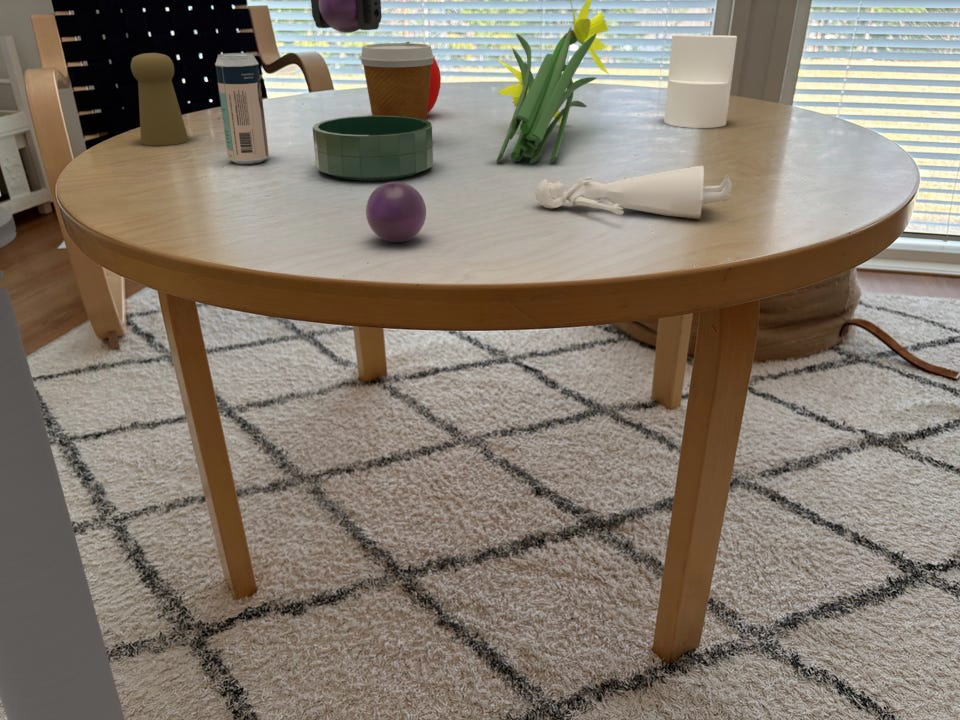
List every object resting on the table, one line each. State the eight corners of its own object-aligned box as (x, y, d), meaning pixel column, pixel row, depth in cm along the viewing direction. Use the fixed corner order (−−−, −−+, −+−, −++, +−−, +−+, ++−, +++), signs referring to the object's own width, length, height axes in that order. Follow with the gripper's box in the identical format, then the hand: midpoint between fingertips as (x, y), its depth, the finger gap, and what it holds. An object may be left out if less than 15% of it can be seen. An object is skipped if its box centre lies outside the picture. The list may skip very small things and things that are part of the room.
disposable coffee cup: (451, 144, 107) (449, 46, 101) (390, 153, 101) (385, 50, 96) (410, 133, 113) (406, 41, 108) (350, 142, 108) (344, 45, 103)
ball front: (376, 253, 66) (372, 192, 64) (361, 236, 70) (357, 178, 68) (434, 246, 68) (433, 186, 65) (417, 229, 72) (415, 173, 70)
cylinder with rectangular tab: (659, 125, 119) (667, 37, 113) (669, 116, 126) (677, 32, 121) (722, 129, 116) (734, 39, 110) (729, 119, 123) (739, 34, 118)
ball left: (326, 35, 75) (321, -25, 73) (317, 31, 79) (311, -25, 77) (379, 33, 77) (375, -26, 74) (367, 30, 81) (363, -26, 79)
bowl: (330, 187, 86) (326, 139, 83) (307, 162, 97) (303, 119, 94) (448, 177, 90) (447, 130, 88) (414, 154, 101) (412, 112, 99)
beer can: (277, 159, 98) (266, 53, 93) (248, 167, 94) (235, 57, 89) (249, 155, 100) (236, 51, 95) (219, 162, 97) (204, 55, 92)
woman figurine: (737, 180, 68) (525, 185, 72) (733, 232, 70) (527, 234, 74) (727, 152, 79) (542, 158, 82) (724, 198, 81) (543, 201, 84)
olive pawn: (197, 138, 111) (184, 51, 106) (170, 146, 105) (155, 56, 101) (159, 135, 112) (145, 50, 107) (131, 144, 107) (114, 55, 102)
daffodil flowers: (434, 166, 98) (497, 57, 124) (537, 229, 101) (578, 109, 126) (501, 49, 87) (556, -45, 112) (615, 123, 89) (643, 15, 115)
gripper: (241, -181, 71) (265, 28, 79) (365, -199, 64) (379, 34, 71) (303, -171, 77) (320, 24, 84) (423, -186, 70) (430, 28, 77)
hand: (347, 27), depth 78 cm, fingers closed on ball left, 5 cm apart
